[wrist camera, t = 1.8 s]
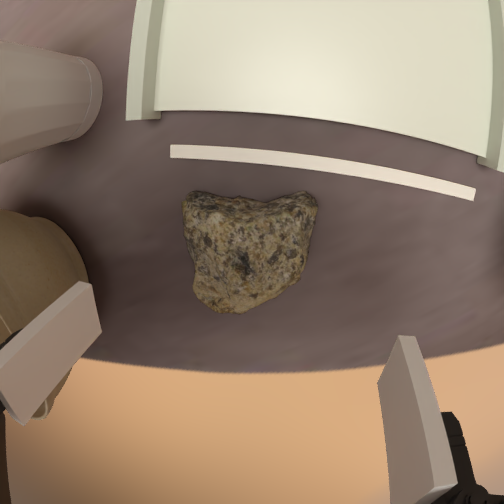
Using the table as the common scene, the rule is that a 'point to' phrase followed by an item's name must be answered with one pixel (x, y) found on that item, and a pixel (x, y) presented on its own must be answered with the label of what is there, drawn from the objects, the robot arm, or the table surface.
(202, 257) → the rock
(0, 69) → the cup
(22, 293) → the planter bowl
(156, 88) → the white square tray
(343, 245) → the table surface
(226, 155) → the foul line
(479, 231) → the table surface
